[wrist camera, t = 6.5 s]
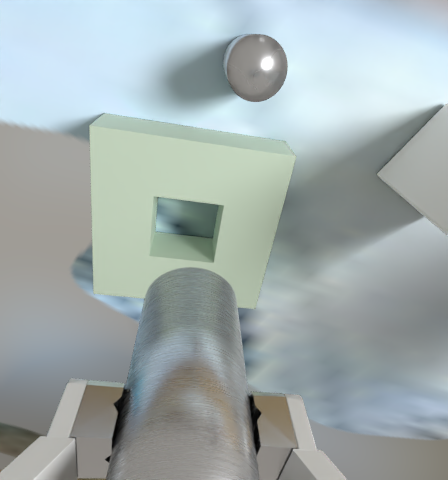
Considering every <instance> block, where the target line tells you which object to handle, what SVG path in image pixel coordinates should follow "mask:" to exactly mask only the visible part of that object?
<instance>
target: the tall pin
mask: <svg viewBox="0 0 448 480" xmlns="http://www.w3.org/2000/svg"><path fill="white" fill-rule="evenodd" d="M106 480H260V479H259V471H258V464H257V456H256V448H255V440H254V433H253V425H252V417H251V409H250V401H249V394H248V386H247V378H246V370H245V362H244V355H243V347H242V339H241V331H240V323H239V316H238V308H237V300H236V295H235V292H234V290H233V288H232V287H231V285H230V284H229V283H228V282H227V281H226V280H225V279H224V278H223V277H221V276H220V275H218V274H216V273H215V272H212V271H210V270H206V269H202V268H195V267H185V268H178V269H175V270H171V271H169V272H166V273H164V274H163V275H161V276H160V277H158V278H157V279H156V280H155V281H154V282H153V283H152V284H151V285H150V286H149V288H148V290H147V292H146V295H145V299H144V304H143V309H142V313H141V318H140V323H139V327H138V332H137V336H136V341H135V346H134V350H133V355H132V360H131V364H130V369H129V373H128V378H127V383H126V387H125V393H124V397H123V402H122V407H121V411H120V415H119V420H118V424H117V430H116V434H115V439H114V444H113V448H112V452H111V456H110V461H109V466H108V470H107V475H106Z"/></svg>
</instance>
